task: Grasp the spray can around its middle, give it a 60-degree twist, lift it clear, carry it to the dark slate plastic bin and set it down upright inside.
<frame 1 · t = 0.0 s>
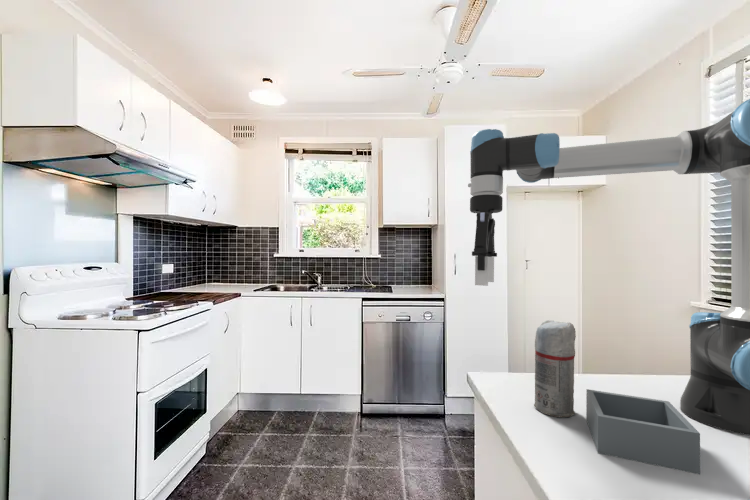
hand: (485, 283, 84), 28 cm above the countertop, fingers open, 13 cm apart
bin: (635, 443, 65), on the countertop
spray can: (554, 411, 79), on the countertop
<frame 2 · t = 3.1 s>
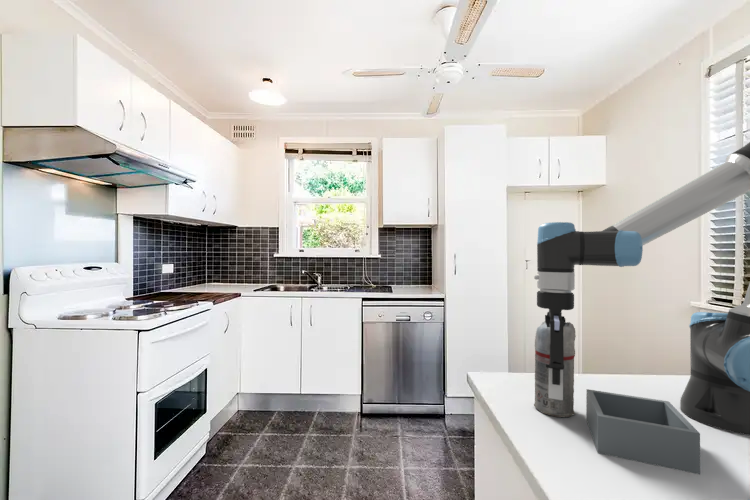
hand: (554, 391, 79), 4 cm above the countertop, fingers closed on spray can, 8 cm apart
spray can: (554, 411, 79), on the countertop, touching gripper
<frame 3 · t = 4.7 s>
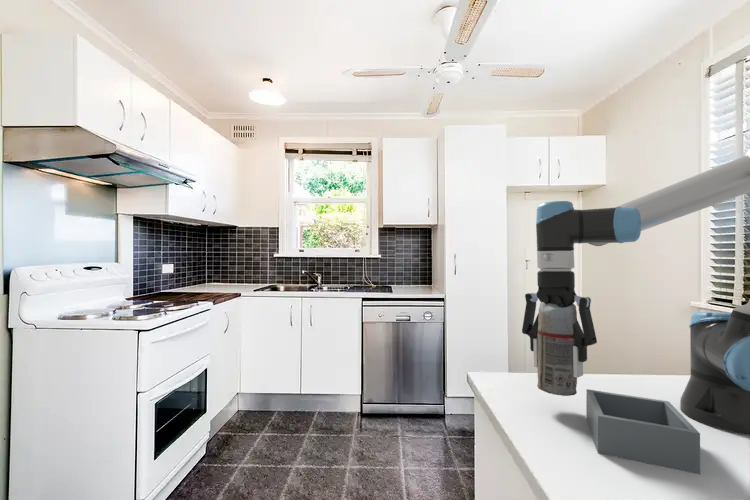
hand: (557, 370, 79), 9 cm above the countertop, fingers closed on spray can, 8 cm apart
spray can: (557, 391, 79), point 4 cm above the countertop, touching gripper
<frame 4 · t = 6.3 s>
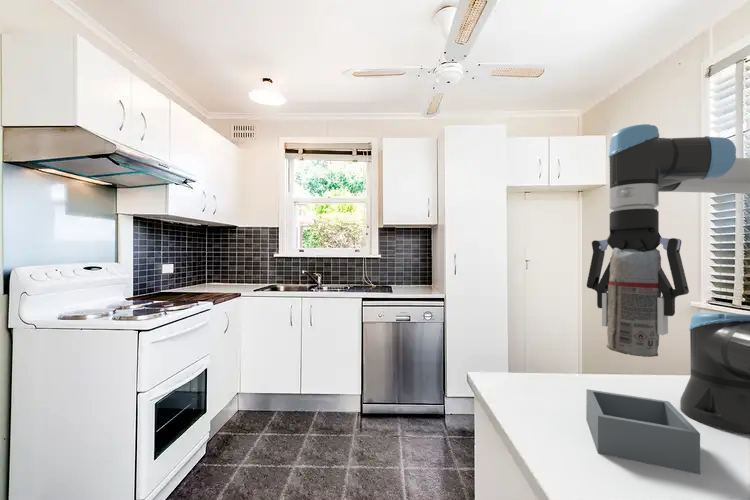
hand: (633, 329, 66), 21 cm above the countertop, fingers closed on spray can, 8 cm apart
spray can: (633, 353, 66), point 17 cm above the countertop, touching gripper
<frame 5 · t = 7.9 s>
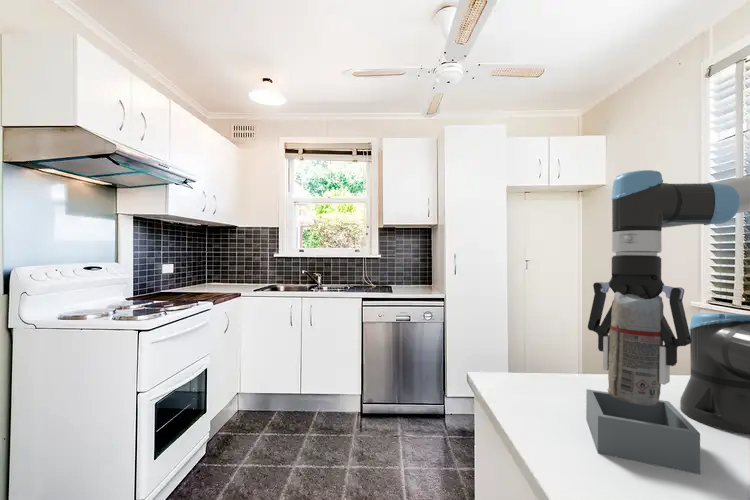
hand: (634, 375, 65), 13 cm above the countertop, fingers closed on spray can, 8 cm apart
spray can: (634, 399, 65), point 8 cm above the countertop, touching gripper
when the fingers open (8 cm above the countertop, at t = 9.3 s): spray can drops 2 cm, resting on bin.
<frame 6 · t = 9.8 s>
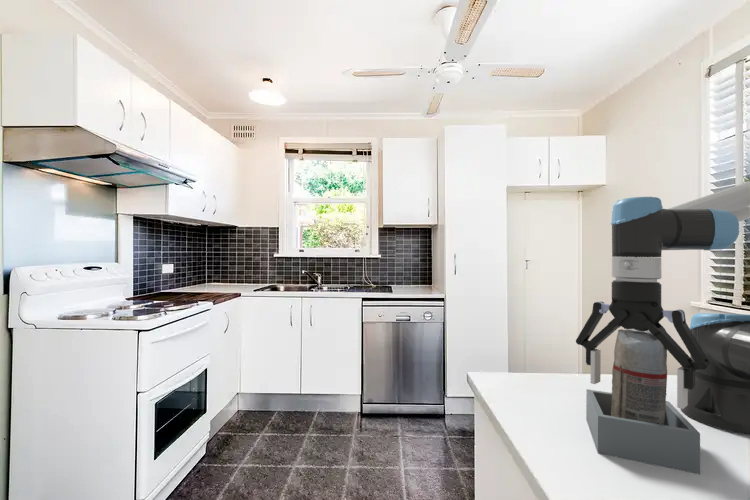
hand: (635, 393, 65), 9 cm above the countertop, fingers open, 13 cm apart
spray can: (637, 439, 65), point 1 cm above the countertop, touching bin
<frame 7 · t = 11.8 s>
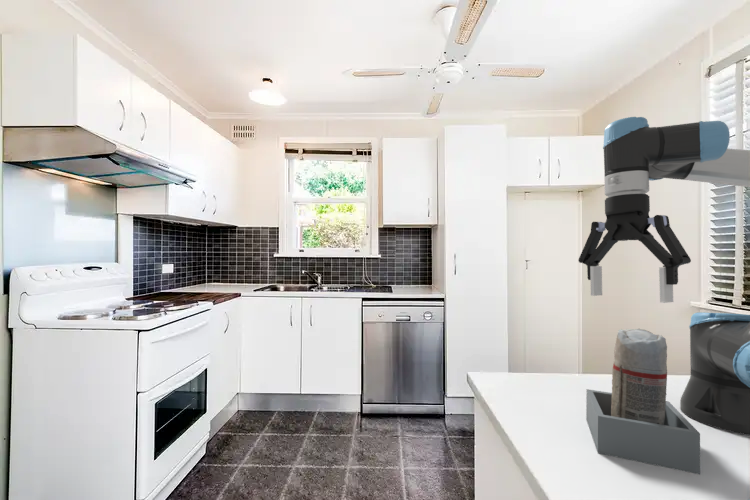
hand: (628, 298, 72), 26 cm above the countertop, fingers open, 13 cm apart
nothing on the countertop moved.
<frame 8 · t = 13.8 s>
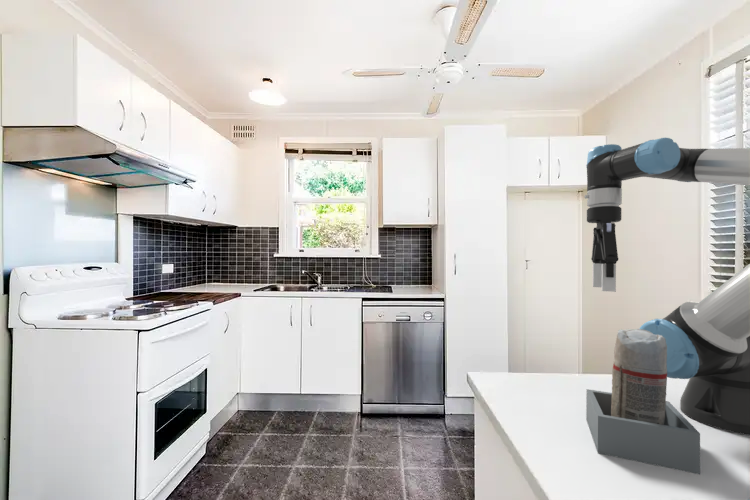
hand: (603, 289, 90), 27 cm above the countertop, fingers open, 13 cm apart
nothing on the countertop moved.
at the end: spray can inside the target area on the bin (0.4 cm from its centre), point 0.8 cm above the bin's base; spray can tilted 0°; the gripper is holding nothing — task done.
